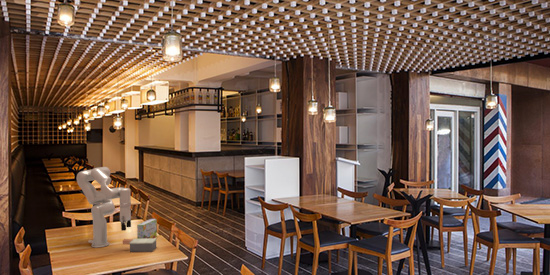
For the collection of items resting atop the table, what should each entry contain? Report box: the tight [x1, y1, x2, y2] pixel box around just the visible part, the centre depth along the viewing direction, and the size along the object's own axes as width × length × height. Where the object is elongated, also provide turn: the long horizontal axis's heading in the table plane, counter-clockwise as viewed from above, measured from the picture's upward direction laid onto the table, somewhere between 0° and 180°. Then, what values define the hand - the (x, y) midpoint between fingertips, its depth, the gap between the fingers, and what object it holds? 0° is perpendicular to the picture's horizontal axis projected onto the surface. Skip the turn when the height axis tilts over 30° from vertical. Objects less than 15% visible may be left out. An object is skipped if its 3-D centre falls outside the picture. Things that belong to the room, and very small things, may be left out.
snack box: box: [136, 218, 158, 239], centre depth 315 cm, size 21×6×15 cm, turn 168°
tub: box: [129, 240, 157, 253], centre depth 290 cm, size 16×10×6 cm, turn 90°
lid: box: [122, 237, 158, 246], centre depth 290 cm, size 23×11×3 cm, turn 90°
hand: (126, 228), depth 289 cm, fingers open, 9 cm apart
